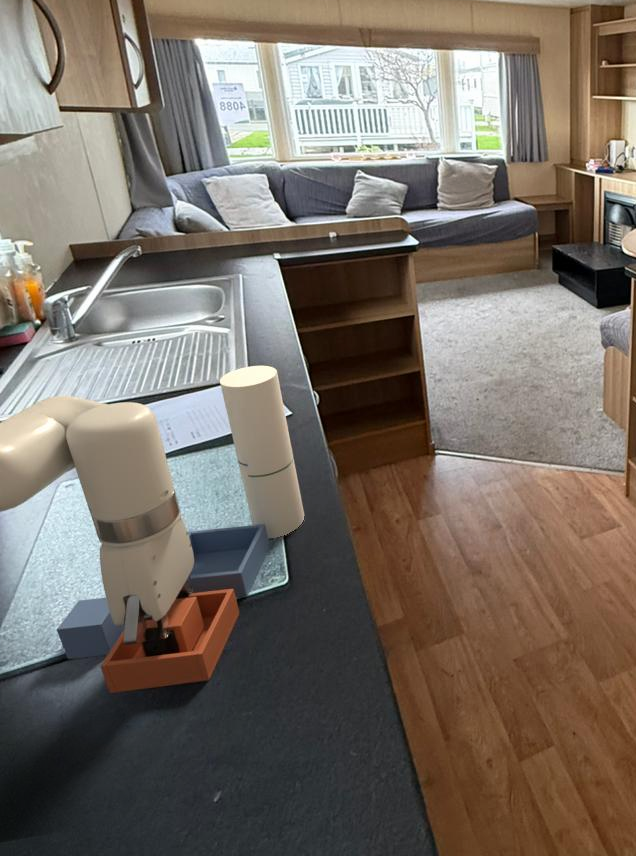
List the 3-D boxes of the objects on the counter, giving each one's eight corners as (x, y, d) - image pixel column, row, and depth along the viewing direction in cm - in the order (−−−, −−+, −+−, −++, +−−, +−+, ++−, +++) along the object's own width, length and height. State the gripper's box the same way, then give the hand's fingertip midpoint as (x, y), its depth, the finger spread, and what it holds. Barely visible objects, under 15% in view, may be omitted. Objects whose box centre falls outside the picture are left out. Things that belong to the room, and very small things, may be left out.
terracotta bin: (109, 693, 72) (100, 666, 70) (152, 623, 81) (144, 598, 80) (209, 680, 74) (201, 653, 72) (239, 613, 83) (233, 588, 81)
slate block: (67, 659, 76) (56, 629, 74) (89, 629, 80) (78, 600, 79) (111, 654, 77) (100, 624, 75) (130, 624, 81) (120, 595, 79)
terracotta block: (145, 661, 74) (135, 630, 73) (163, 630, 79) (154, 600, 77) (189, 656, 75) (180, 625, 74) (204, 625, 79) (196, 596, 78)
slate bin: (162, 606, 84) (155, 582, 82) (194, 554, 93) (188, 531, 92) (247, 597, 85) (241, 572, 84) (269, 546, 95) (265, 523, 93)
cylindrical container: (283, 504, 104) (254, 362, 95) (315, 517, 101) (288, 371, 92) (243, 530, 98) (208, 380, 89) (275, 544, 95) (242, 390, 86)
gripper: (137, 473, 77) (171, 594, 84) (51, 571, 62) (102, 709, 69) (205, 468, 79) (234, 587, 85) (138, 563, 63) (179, 699, 70)
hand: (174, 640), depth 77 cm, fingers closed on terracotta block, 4 cm apart
